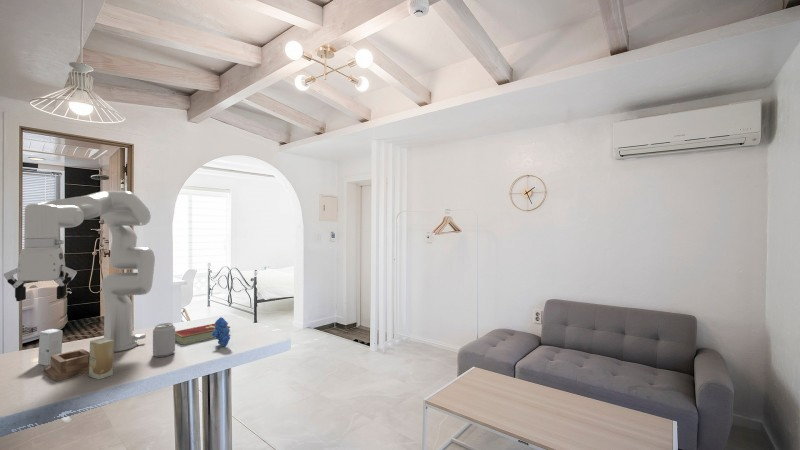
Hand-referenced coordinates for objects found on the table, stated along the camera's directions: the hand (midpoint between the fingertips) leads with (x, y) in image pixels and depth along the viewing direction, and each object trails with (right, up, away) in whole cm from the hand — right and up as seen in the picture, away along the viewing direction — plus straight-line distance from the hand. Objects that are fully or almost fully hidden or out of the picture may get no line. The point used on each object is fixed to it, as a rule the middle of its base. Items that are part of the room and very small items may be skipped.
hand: (41, 299), depth 112 cm
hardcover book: (+18, -30, +57) cm, 67 cm away
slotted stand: (-6, -29, +17) cm, 34 cm away
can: (+16, -29, +34) cm, 47 cm away
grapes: (+33, -29, +44) cm, 62 cm away
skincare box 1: (-20, -29, +24) cm, 43 cm away
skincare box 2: (+8, -29, +13) cm, 33 cm away
